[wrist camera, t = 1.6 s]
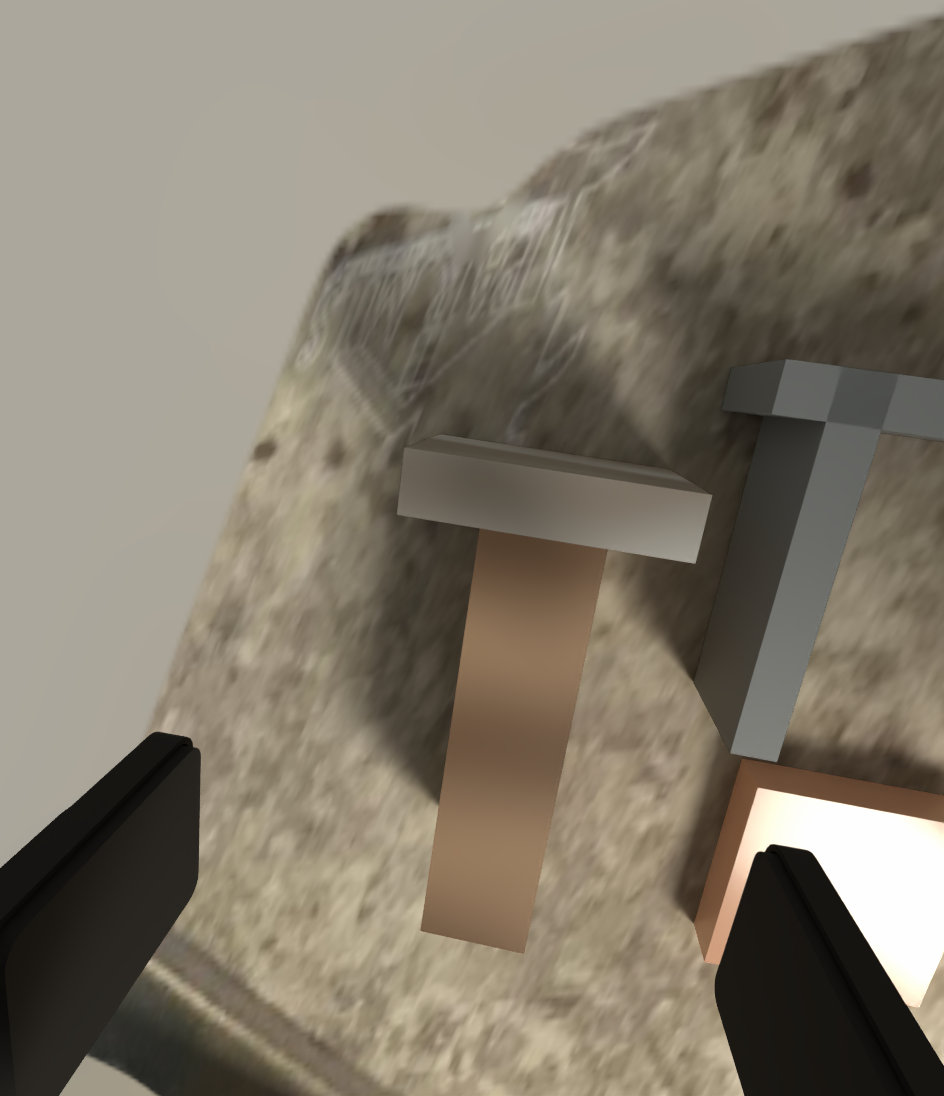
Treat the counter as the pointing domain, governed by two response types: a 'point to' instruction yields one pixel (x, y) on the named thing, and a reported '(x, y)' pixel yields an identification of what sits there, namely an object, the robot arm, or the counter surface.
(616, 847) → the counter surface
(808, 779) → the tile
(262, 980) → the counter surface
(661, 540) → the scraper
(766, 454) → the bay
